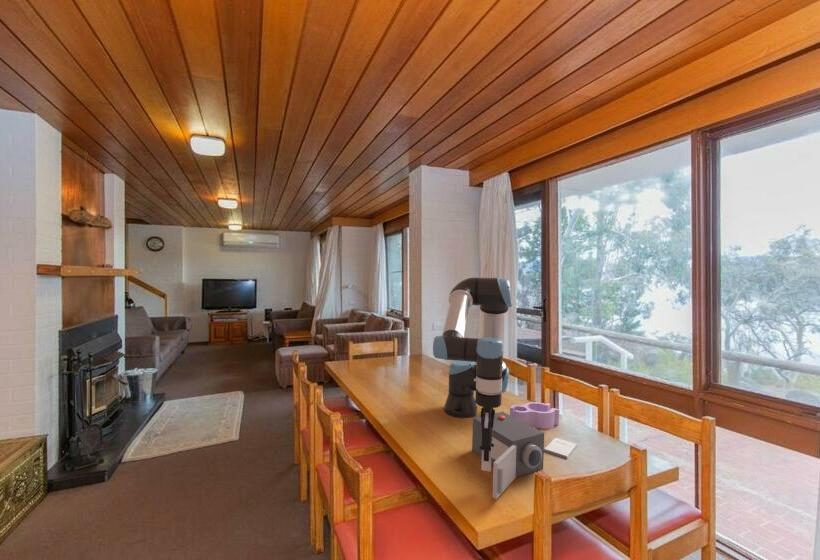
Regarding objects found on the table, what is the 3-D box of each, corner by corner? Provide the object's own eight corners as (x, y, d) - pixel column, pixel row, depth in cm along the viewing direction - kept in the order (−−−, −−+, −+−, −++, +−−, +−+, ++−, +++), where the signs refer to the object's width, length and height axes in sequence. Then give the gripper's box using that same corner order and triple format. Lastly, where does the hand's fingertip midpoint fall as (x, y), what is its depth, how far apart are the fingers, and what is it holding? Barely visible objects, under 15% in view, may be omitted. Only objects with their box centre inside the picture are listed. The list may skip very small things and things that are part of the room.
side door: (499, 500, 101) (500, 465, 101) (492, 497, 103) (493, 462, 102) (518, 478, 112) (519, 446, 112) (511, 476, 114) (512, 444, 113)
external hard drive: (543, 453, 132) (554, 441, 142) (567, 460, 127) (576, 447, 137) (543, 448, 132) (554, 436, 142) (567, 456, 127) (577, 443, 137)
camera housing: (471, 450, 132) (472, 415, 131) (501, 442, 138) (502, 409, 138) (518, 484, 111) (519, 442, 111) (550, 473, 118) (551, 434, 118)
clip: (519, 431, 149) (519, 414, 149) (505, 419, 161) (505, 403, 161) (562, 428, 153) (563, 411, 153) (545, 416, 165) (546, 401, 165)
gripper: (477, 383, 115) (475, 456, 115) (473, 396, 102) (470, 479, 103) (502, 385, 112) (500, 460, 113) (500, 399, 100) (498, 484, 101)
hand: (486, 469), depth 108 cm, fingers closed
